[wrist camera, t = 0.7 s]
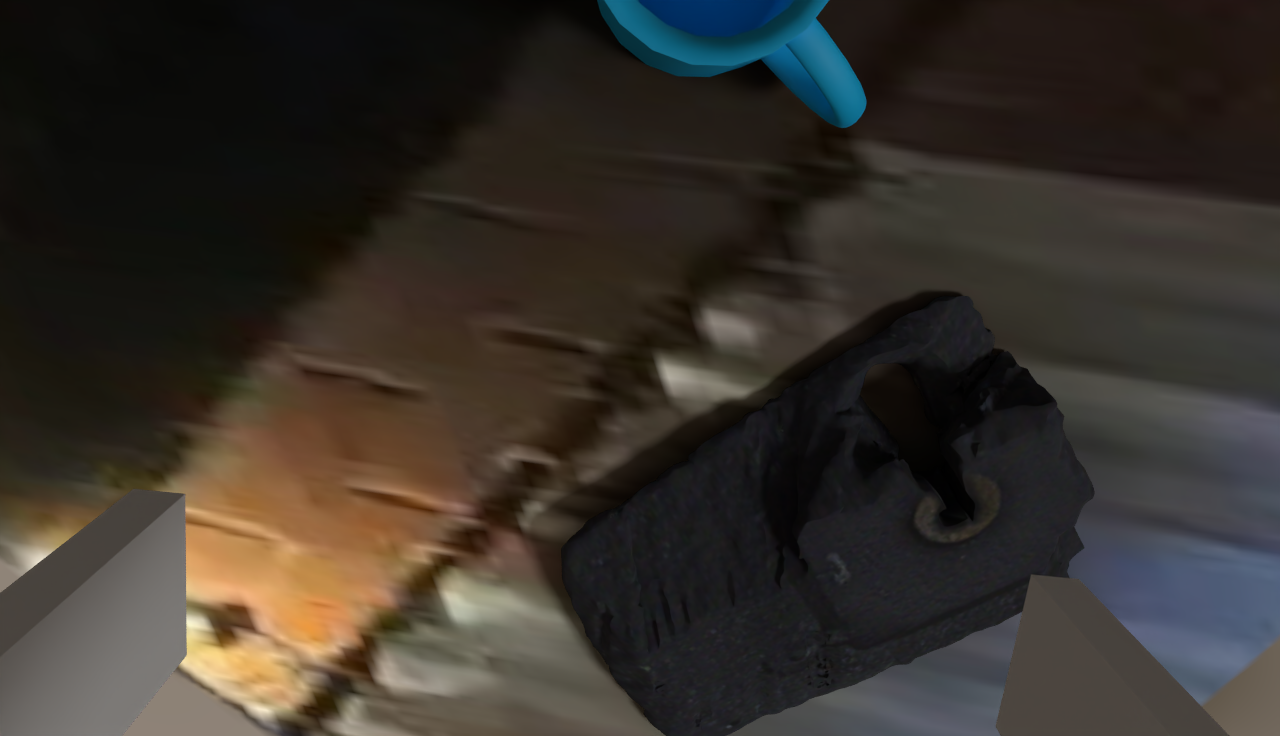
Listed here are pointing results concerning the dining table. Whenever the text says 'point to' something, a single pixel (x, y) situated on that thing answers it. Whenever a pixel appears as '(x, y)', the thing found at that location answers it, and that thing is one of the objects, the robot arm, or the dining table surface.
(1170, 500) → the dining table surface
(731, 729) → the black fabric pouch
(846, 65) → the mug
